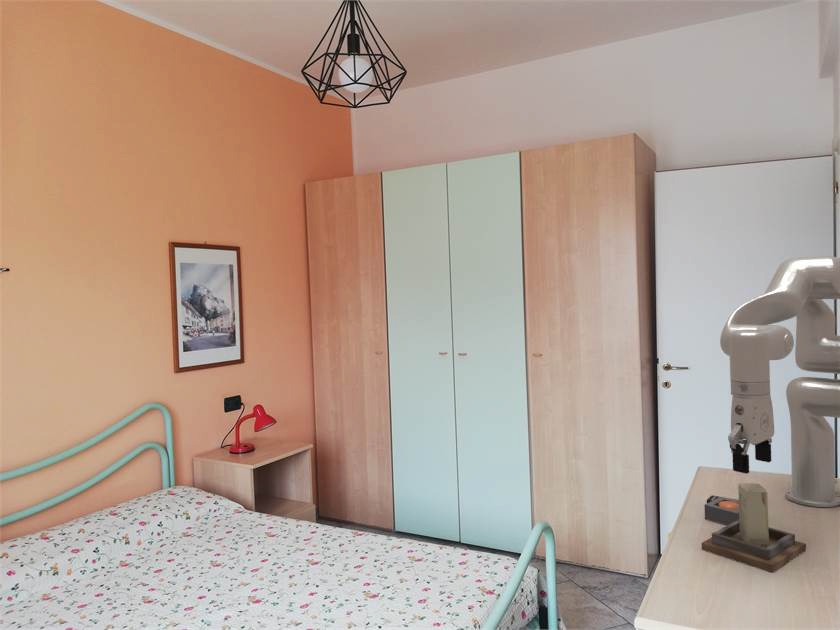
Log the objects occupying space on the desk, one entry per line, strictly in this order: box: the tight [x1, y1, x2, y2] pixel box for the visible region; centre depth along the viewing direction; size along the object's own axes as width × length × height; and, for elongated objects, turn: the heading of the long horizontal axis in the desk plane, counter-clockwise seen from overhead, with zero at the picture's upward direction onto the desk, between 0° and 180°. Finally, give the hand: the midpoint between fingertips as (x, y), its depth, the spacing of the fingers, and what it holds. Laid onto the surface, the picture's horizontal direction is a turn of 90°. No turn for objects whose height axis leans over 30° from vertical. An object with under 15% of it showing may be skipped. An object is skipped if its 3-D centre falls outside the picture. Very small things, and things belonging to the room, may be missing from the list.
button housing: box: [704, 496, 739, 526], centre depth 157 cm, size 8×8×4 cm
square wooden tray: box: [701, 519, 807, 574], centre depth 140 cm, size 15×15×4 cm
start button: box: [719, 501, 739, 510], centre depth 157 cm, size 4×4×2 cm
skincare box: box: [737, 482, 769, 548], centre depth 140 cm, size 6×4×12 cm
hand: (752, 466), depth 139 cm, fingers open, 9 cm apart
